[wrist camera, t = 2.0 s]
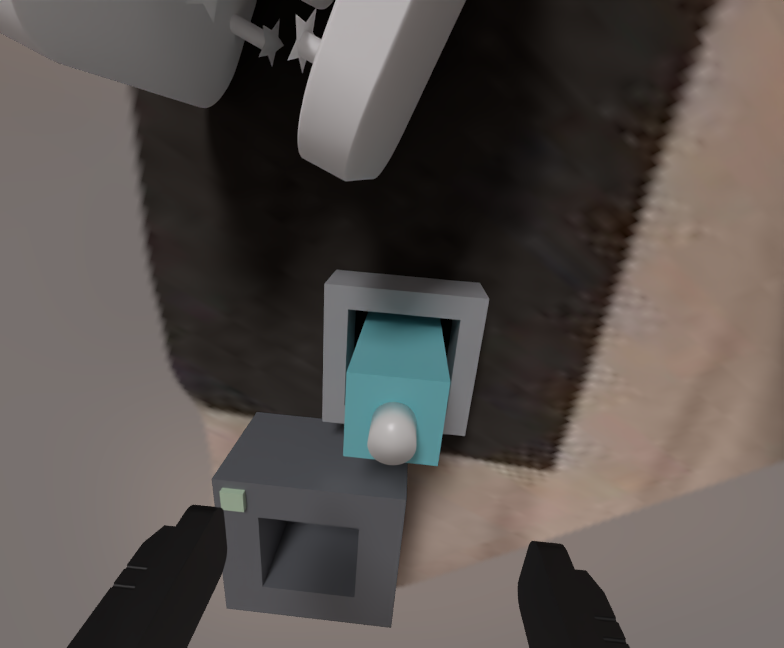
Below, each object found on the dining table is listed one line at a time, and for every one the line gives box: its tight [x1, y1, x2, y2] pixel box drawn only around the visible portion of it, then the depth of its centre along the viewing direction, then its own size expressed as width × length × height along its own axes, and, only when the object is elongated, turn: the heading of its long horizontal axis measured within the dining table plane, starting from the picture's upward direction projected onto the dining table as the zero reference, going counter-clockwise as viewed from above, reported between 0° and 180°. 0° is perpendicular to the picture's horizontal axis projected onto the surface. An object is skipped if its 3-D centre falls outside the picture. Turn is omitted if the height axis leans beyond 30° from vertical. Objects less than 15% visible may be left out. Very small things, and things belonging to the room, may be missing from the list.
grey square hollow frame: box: [322, 270, 489, 436], centre depth 22 cm, size 8×8×3 cm
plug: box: [343, 311, 450, 466], centre depth 19 cm, size 4×4×10 cm
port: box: [212, 412, 408, 628], centre depth 24 cm, size 10×10×6 cm
